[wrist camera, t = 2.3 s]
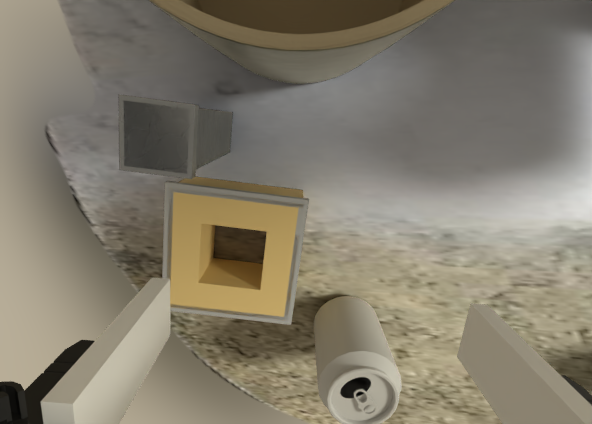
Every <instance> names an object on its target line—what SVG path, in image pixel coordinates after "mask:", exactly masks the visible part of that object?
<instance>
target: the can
mask: <svg viewBox="0 0 592 424" xmlns="http://www.w3.org/2000/svg"><path fill="white" fill-rule="evenodd" d="M314 338H315V352H316V366H317V380H318V390H319V396H320V398H321V400H322V402H323V403H324V405H325V406H326V407H327V408H328V410H329V411H330V413H331V415H332V416H333V417H334V418H335V419H336V420H337V421H339V422H340V423H342V424H381V423H382V422H384V421H385V420H387V419H388V418H390V417H391V415H392V414H393V413H394V411H395V410H396V408H397V405H398V402H399V394H400V391H401V388H402V387H401V376H400V373H399V371H398V368H397V366H396V363H395V361H394V358H393V355H392V353H391V350H390V348H389V345H388V343H387V340H386V338H385V335H384V333H383V330H382V327H381V325H380V322H379V320H378V317H377V315H376V313H375V311H374V309H373V308H372V307H371V306H370V305H369V304H368V303H367V302H366V301H364V300H362V299H360V298H357V297H351V296H343V297H337V298H334V299H332V300H329V301H328V302H326V303H325V304H324V305H323V306H322V307H320V309H319V311H318V312H317V314H316V315H315V320H314Z"/></svg>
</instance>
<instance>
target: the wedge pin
mask: <svg viewBox="0 0 592 424" xmlns="http://www.w3.org/2000/svg"><path fill="white" fill-rule="evenodd" d="M232 119H233V112H228V111H220V110H213V109H205V108H199V105H195V104H188V103H180V102H173V101H165V100H157V99H150V98H142V97H135V96H127V95H119V170H123V171H131V172H139V173H147V174H155V175H163V176H171V177H179V178H187V179H193V178H194V177H195V173H196V169H198V168H200V167H202V166H204V165H206V164H208V163H210V162H212V161H214V160H216V159H218V158H220V157H222V156H224V155H225V154H227V153H229V152H230V146H231V132H232Z"/></svg>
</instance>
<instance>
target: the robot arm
mask: <svg viewBox="0 0 592 424" xmlns="http://www.w3.org/2000/svg"><path fill="white" fill-rule="evenodd" d="M169 336H170V279H165V278H153V277H152V278H151V279H150V280H149V281H148V283H147V284H146V285H145V286H144V287H143V288H142V289H141V290H140V291H139V293H138V294H137V295H136V296H135V297H134V298H133V299H132V300H131V302H130V303H129V304H128V305H127V306H126V307H125V308H124V309H123V310H122V312H121V313H120V314H119V315H118V316H117V317H116V318H115V319H114V320H113V322H112V323H111V324H110V325H109V326H108V327H107V328H106V329H105V331H104V332H103V333H102V334H101V335H100V336H99V337H98V338H97V339H96V340H95V341H90V340H81V341H79V342H77V343H76V344H74V345H72V346H71V347H69V348H67V349H65V350H64V352H63V353H62V354H60V356H58V358H57V359H56V360H55V361H54V363H52V364H51V365H50V366H49V367H48V368H47V369H46V370H45V371H44V373H42V374H41V375H40V376H39V377H38V378H37V379H36V380H35V381H34V382H33V383H32V384H31V385H30V386H29V387H28V388H27V389H26V390H25V391H24V389H23V388H22V386H21V384H18V383H15V382H0V424H119V423H120V421H121V419H122V418H123V416H124V414H125V413H126V411H127V409H128V407H129V406H130V404H131V402H132V400H133V399H134V397H135V395H136V393H137V392H138V390H139V388H140V387H141V385H142V383H143V381H144V380H145V378H146V376H147V374H148V373H149V371H150V369H151V367H152V366H153V364H154V362H155V360H156V359H157V357H158V355H159V354H160V352H161V350H162V348H163V347H164V345H165V343H166V341H167V340H168V338H169ZM457 357H458V359H459V360H460V362H461V363H462V365H463V366H464V368H465V369H466V370H467V372H468V373H469V375H470V376H471V378H472V379H473V381H474V382H475V384H476V385H477V387H478V388H479V390H480V391H481V393H482V394H483V396H484V397H485V398H486V400H487V401H488V403H489V404H490V406H491V407H492V409H493V410H494V412H495V413H496V415H497V416H498V418H499V419H500V421H501V422H502V423H503V424H592V396H591V395H590V394H589V393H588V392H587V391H586V390H585V389H584V388H583V387H581V386H580V385H578V384H577V383H575V382H574V381H572V380H571V379H569V378H568V377H566V376H564V375H560V374H559V373H558V372H557V371H556V370H555V369H554V368H553V367H551V366H550V365H549V364H548V363H547V362H546V361H545V360H544V359H543V358H542V357H541V356H540V355H539V354H538V353H537V352H536V351H535V350H534V349H533V348H532V347H531V346H530V345H529V344H528V343H527V342H526V341H525V340H524V339H523V338H522V337H521V336H519V335H518V334H517V333H516V332H515V331H514V330H513V329H512V328H511V327H510V326H509V325H508V324H507V323H506V322H505V321H504V320H503V319H502V318H501V317H500V316H499V315H498V314H497V313H496V312H495V311H494V310H493V309H492V308H491V307H490V306H488V305H485V304H473V303H471V304H470V308H469V311H468V315H467V319H466V323H465V327H464V331H463V335H462V339H461V343H460V347H459V351H458V355H457Z"/></svg>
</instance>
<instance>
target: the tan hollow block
mask: <svg viewBox="0 0 592 424" xmlns="http://www.w3.org/2000/svg"><path fill="white" fill-rule="evenodd" d="M308 202H309V199H307V198H303V190H298V189H290V188H282V187H274V186H266V185H258V184H250V183H242V182H234V181H227V180H219V179H211V178H203V177H194V178H193V179H187V178H185V179H183V180H181V181H180V182H172V181H166V182H165V190H164V232H163V274H162V278H165V279H170V311H176V312H184V313H193V314H202V315H210V316H219V317H227V318H236V319H245V320H253V321H262V322H270V323H279V324H288V325H291V322H292V315H293V308H294V301H295V294H296V287H297V280H298V273H299V266H300V259H301V251H302V244H303V237H304V230H305V223H306V216H307V209H308ZM215 225H218V226H226V227H234V228H242V229H251V230H259V231H267V234H266V243H265V253H264V262H263V264H260V263H252V262H244V261H235V260H227V259H219V258H213V253H214V238H215Z"/></svg>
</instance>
